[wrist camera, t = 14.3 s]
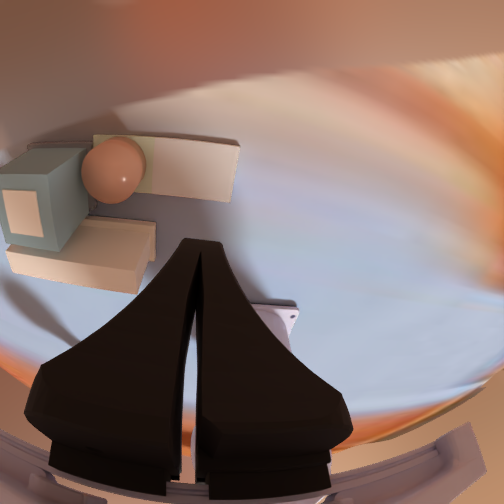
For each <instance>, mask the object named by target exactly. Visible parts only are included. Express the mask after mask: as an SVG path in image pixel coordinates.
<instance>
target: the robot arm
mask: <svg viewBox="0 0 504 504" xmlns="http://www.w3.org/2000/svg"><path fill="white" fill-rule="evenodd" d="M195 309H196V342H197V393H196V426H195V427H194V429H193V432H192V436H191V457H192V463H193V467H194V470H195V484H188V483H176V482H171V480H178V481H179V480H180V479H179V477H180V476H179V474H180V473H181V471H182V468H181V467H182V411H183V390H184V373H185V364H186V357H187V352H188V346H189V341H190V335H191V330H192V325H193V320H194V314H195ZM298 315H299V309H298V308H297V307H289V306H273V305H260V304H250V302H249V300H248V299H247V297H246V296H245V294H244V292H243V291H242V289H241V287H240V285H239V283H238V281H237V279H236V278H235V276H234V274H233V272H232V269H231V267H230V265H229V263H228V260H227V258H226V255H225V252H224V249H223V245H222V244H221V243H220V242H216V241H207V240H199V239H190V238H184V239H183V240H182V241H181V243H180V244H179V246H178V248H177V249H176V251H175V252H174V253H173V255H172V256H171V258H170V259H169V260H168V262H167V263H166V264H165V265H164V267H163V268H162V269H161V270H160V272H159V273H158V274H157V275H156V276H155V277H154V279H153V280H152V281H151V282H150V283H149V284H148V285H147V286H146V287H145V289H144V290H143V291H142V292H141V293H140V294H139V295H138V296H137V297H136V298H135V299H134V300H133V301H132V302H130V303H129V304H128V305H127V306H126V307H125V308H124V309H123V310H122V311H120V312H119V313H118V314H117V315H116V316H115V317H113V318H112V319H111V320H110V321H109V322H107V323H106V324H105V325H104V326H102V327H101V328H100V329H98V330H97V331H95V332H94V333H92V334H91V335H90V336H88V337H87V338H85V339H84V340H83V341H81V342H80V343H78V344H77V345H75V346H74V347H72V348H70V349H69V350H67V351H65V352H63V353H62V354H60V355H58V356H57V357H55V358H53V359H51V360H50V361H48V362H46V363H44V364H42V365H41V367H40V369H39V371H38V373H37V375H36V377H35V379H34V382H33V384H32V387H31V390H30V394H29V397H28V400H27V403H26V407H25V410H24V414H25V416H26V418H27V420H28V421H29V422H30V423H31V424H32V425H33V426H34V427H35V428H37V429H38V430H39V431H40V432H42V433H43V434H44V435H45V436H47V437H48V438H49V439H51V440H52V445H51V450H50V452H48V451H46V450H43V449H41V448H39V447H36V446H34V445H32V444H29V443H27V442H25V441H23V440H21V439H19V438H17V437H15V436H13V435H11V434H9V433H7V432H5V431H3V430H1V429H0V504H107V500H106V499H104V498H101V497H97V496H94V495H91V494H87V493H84V492H81V491H78V490H75V489H72V488H69V487H66V486H63V485H61V484H58V483H57V481H56V480H55V477H54V476H53V475H52V474H54V475H57V476H59V477H62V478H65V479H67V480H70V481H73V482H76V483H79V484H82V485H85V486H88V487H92V488H96V489H99V490H102V491H106V492H110V493H114V494H119V495H123V496H127V497H132V498H138V499H143V500H149V501H156V502H163V503H171V504H316V503H318V502H319V501H320V500H321V499H322V498H324V497H325V496H326V495H328V496H327V497H326V499H325V501H324V502H323V503H321V504H450V503H451V502H452V501H453V500H454V499H455V498H456V497H458V496H459V495H460V494H461V493H462V492H463V491H465V490H466V489H467V488H468V487H470V486H471V485H472V484H473V483H474V482H476V481H477V480H478V479H480V478H481V477H482V476H483V475H484V474H486V472H487V470H486V467H485V464H484V460H483V457H482V454H481V451H480V448H479V445H478V443H477V439H476V437H475V434H474V432H473V429H472V426H471V423H470V422H467V423H465V424H463V425H461V426H459V427H457V428H455V429H453V430H451V431H449V432H448V433H446V434H444V435H443V436H441V437H439V438H438V439H436V441H434V442H432V443H429V444H427V445H425V446H422V447H420V448H418V449H415V450H413V451H410V452H407V453H405V454H402V455H399V456H397V457H393V458H391V459H388V460H385V461H382V462H378V463H375V464H372V465H368V466H365V467H361V468H357V469H353V470H349V471H345V472H341V473H336V474H331V464H332V455H331V449H332V448H333V447H335V446H337V445H338V444H340V443H341V442H343V441H344V440H346V439H347V438H348V437H349V436H350V435H351V433H352V431H353V425H352V422H351V418H350V414H349V411H348V408H347V406H346V404H345V401H344V399H343V396H342V394H341V393H340V392H339V391H337V390H336V389H335V388H333V387H332V386H331V385H329V384H328V383H327V382H325V381H324V380H322V379H321V378H320V377H318V376H317V375H316V374H314V373H313V372H312V371H311V370H310V369H308V368H307V367H306V366H305V365H304V364H303V363H302V362H300V361H299V360H298V359H297V358H296V357H295V356H294V355H293V354H292V352H291V347H290V342H289V334H290V332H291V330H292V328H293V326H294V324H295V321H296V319H297V317H298ZM51 473H52V474H51ZM330 494H331V495H330Z"/></svg>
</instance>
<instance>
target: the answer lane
mask: <svg viewBox="0 0 504 504" xmlns="http://www.w3.org/2000/svg"><path fill="white" fill-rule="evenodd" d="M116 136H122V137H127V138H129V139H131V140H133V141H135V142H136V143H137V144H138V145H139V146H140V147H141V149H142V150H143V152H144V155H145V158H146V172H145V175H144V177H143V179H142V181H141V182H140V183H139V185H138V186H137V188H136V189H135V191H134V192H138V193H149V194H158V195H168V196H178V197H187V198H196V199H204V200H213V201H221V202H228V203H230V200H231V195H232V189H233V183H234V178H235V172H236V167H237V162H238V156H239V151H240V146H237V145H230V144H223V143H215V142H207V141H199V140H189V139H179V138H167V137H153V136H136V135H93V148H94V147H96V146H97V145H99V144H101V143H102V142H104V141H105V140H107V139H109V138H111V137H116Z"/></svg>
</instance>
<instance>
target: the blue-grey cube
mask: <svg viewBox="0 0 504 504" xmlns="http://www.w3.org/2000/svg"><path fill="white" fill-rule="evenodd" d="M85 156H86V148H35V149H31V150H29V151H28V152H26V153H24V154H22V155H21V156H19V157H17V158H16V159H14V160H13V161H11V162H9V163H8V164H6V165H5V166H3V167H2V168H0V223H1V227H2V231H3V234H4V238H5V242H6V243H8V244H14V245H20V246H26V247H32V248H38V249H44V250H50V251H56V252H60V250H61V249H62V248H63V246H64V245H65V243H66V242H67V241H68V239H69V238H70V237H71V235H72V234H73V233H74V231H75V230H76V229H77V228H78V226H79V225H80V224H81V222H82V221H83V220H84V219H85V217H86V216H87V215H88V214H89V206H88V192H87V190H86V188H85V186H84V184H83V181H82V176H81V168H82V163H83V160H84V158H85Z"/></svg>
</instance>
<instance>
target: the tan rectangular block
mask: <svg viewBox="0 0 504 504" xmlns="http://www.w3.org/2000/svg"><path fill="white" fill-rule="evenodd" d="M6 254H7V257H8V260H9V263H10V266H11V269H12V271H13V272H14V273H18V274H23V275H27V276H32V277H37V278H42V279H47V280H52V281H57V282H63V283H68V284H74V285H79V286H85V287H91V288H97V289H103V290H110V291H116V292H123V293H130V294H138V291H139V288H140V285H141V281H142V278H143V275H144V272H145V269H146V266H147V264H148V261H155V258H156V222H149V221H139V220H130V219H120V218H110V217H99V216H89V215H87V216H86V217H85V219H84V220H83V221H82V222H81V224H80V225H79V226H78V228H77V229H76V230H75V231H74V233H73V234H72V235H71V237H70V238H69V239H68V241H67V242H66V243H65V245H64V246H63V248H62V249H61V250H60V252H56V251H50V250H44V249H38V248H32V247H26V246H20V245H14V244H11V245H10V246H9V248H8V249H7V250H6Z"/></svg>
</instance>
